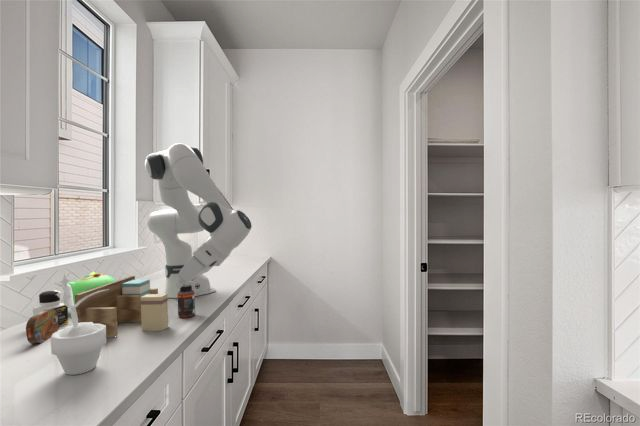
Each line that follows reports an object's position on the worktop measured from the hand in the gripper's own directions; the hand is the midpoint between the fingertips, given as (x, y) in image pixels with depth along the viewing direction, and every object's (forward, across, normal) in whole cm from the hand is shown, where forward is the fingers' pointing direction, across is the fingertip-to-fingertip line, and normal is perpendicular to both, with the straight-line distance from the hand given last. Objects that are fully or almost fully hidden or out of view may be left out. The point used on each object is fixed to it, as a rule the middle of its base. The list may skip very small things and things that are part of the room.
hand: (184, 283), depth 120 cm
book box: (+18, 0, +3) cm, 18 cm away
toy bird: (+45, -24, -23) cm, 56 cm away
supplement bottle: (+15, -14, +7) cm, 21 cm away
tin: (+40, +9, -19) cm, 45 cm away
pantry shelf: (+28, -4, -7) cm, 29 cm away
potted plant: (+20, +30, +1) cm, 36 cm away
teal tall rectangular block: (+28, -13, -6) cm, 31 cm away
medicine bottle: (+45, -3, -24) cm, 51 cm away
